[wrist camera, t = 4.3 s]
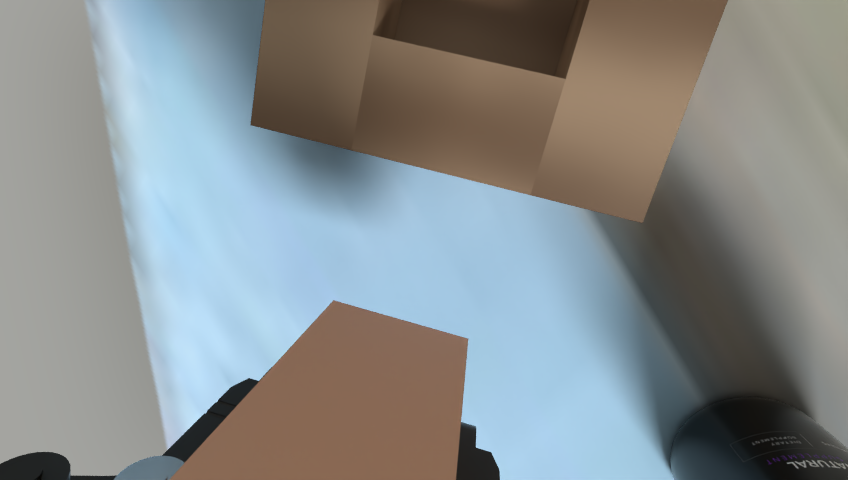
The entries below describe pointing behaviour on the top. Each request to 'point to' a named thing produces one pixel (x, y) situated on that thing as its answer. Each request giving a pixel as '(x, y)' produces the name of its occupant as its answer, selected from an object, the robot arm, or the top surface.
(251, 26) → the top surface
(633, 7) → the walnut base
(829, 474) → the supplement bottle
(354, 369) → the terracotta peg
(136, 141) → the top surface
